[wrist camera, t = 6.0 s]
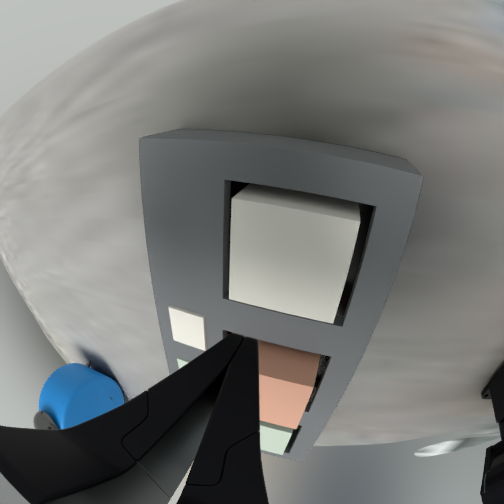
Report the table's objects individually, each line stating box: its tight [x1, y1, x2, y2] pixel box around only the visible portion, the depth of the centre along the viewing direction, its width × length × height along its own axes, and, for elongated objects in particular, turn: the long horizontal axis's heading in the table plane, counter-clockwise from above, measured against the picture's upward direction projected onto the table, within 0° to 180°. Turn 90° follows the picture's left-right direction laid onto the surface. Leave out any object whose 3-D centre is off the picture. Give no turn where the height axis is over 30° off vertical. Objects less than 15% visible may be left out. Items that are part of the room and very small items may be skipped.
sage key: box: [260, 420, 293, 455], centre depth 23 cm, size 5×5×4 cm
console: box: [139, 129, 424, 462], centre depth 20 cm, size 13×28×4 cm, turn 176°
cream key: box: [229, 183, 360, 324], centre depth 15 cm, size 5×5×4 cm
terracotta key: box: [245, 336, 321, 429], centre depth 18 cm, size 5×5×4 cm
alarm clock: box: [33, 361, 124, 430], centre depth 31 cm, size 13×6×15 cm, turn 3°
